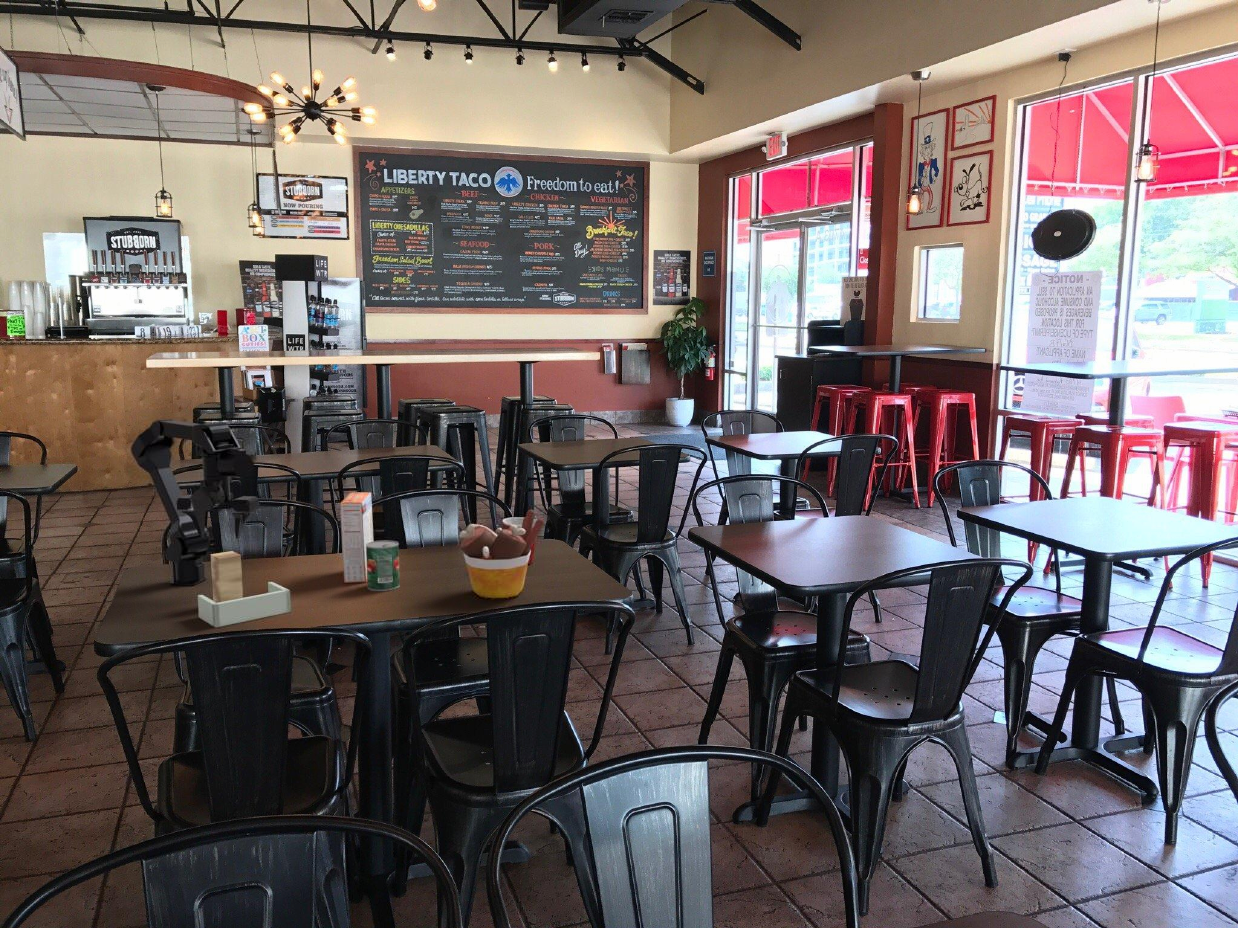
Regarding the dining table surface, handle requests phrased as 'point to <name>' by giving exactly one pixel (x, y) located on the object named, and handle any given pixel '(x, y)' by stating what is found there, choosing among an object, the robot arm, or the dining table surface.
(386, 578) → the canned tomato
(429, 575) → the dining table surface
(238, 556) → the maple block
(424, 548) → the dining table surface
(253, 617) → the open-side box
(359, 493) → the cracker box
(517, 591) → the bucket of meat
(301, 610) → the dining table surface
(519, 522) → the plastic cup
